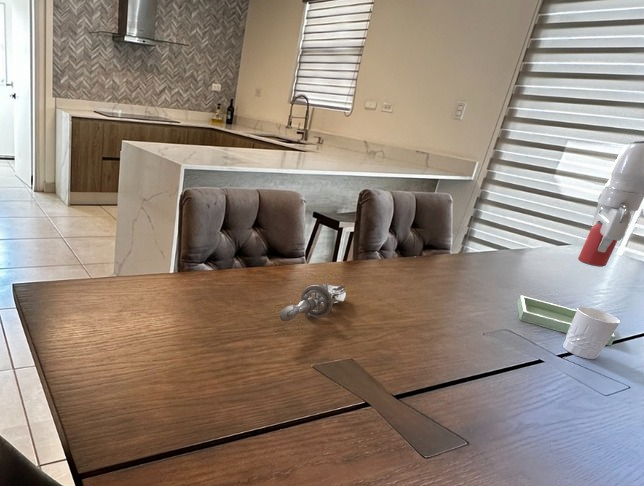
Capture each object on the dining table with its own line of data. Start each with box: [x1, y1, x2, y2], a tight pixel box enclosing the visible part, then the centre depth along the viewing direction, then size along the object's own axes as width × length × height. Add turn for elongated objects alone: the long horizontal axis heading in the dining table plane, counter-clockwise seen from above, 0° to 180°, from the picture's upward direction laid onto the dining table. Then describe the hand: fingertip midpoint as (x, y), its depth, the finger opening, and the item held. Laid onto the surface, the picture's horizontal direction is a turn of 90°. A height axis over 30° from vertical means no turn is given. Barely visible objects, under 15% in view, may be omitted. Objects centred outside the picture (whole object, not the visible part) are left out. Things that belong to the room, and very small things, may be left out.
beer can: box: [577, 221, 618, 268], centre depth 134 cm, size 7×7×12 cm
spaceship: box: [279, 282, 347, 322], centre depth 111 cm, size 8×35×8 cm
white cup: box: [562, 306, 621, 360], centre depth 110 cm, size 8×8×10 cm
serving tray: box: [516, 294, 616, 347], centre depth 126 cm, size 20×14×3 cm
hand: (598, 248), depth 134 cm, fingers closed on beer can, 6 cm apart
